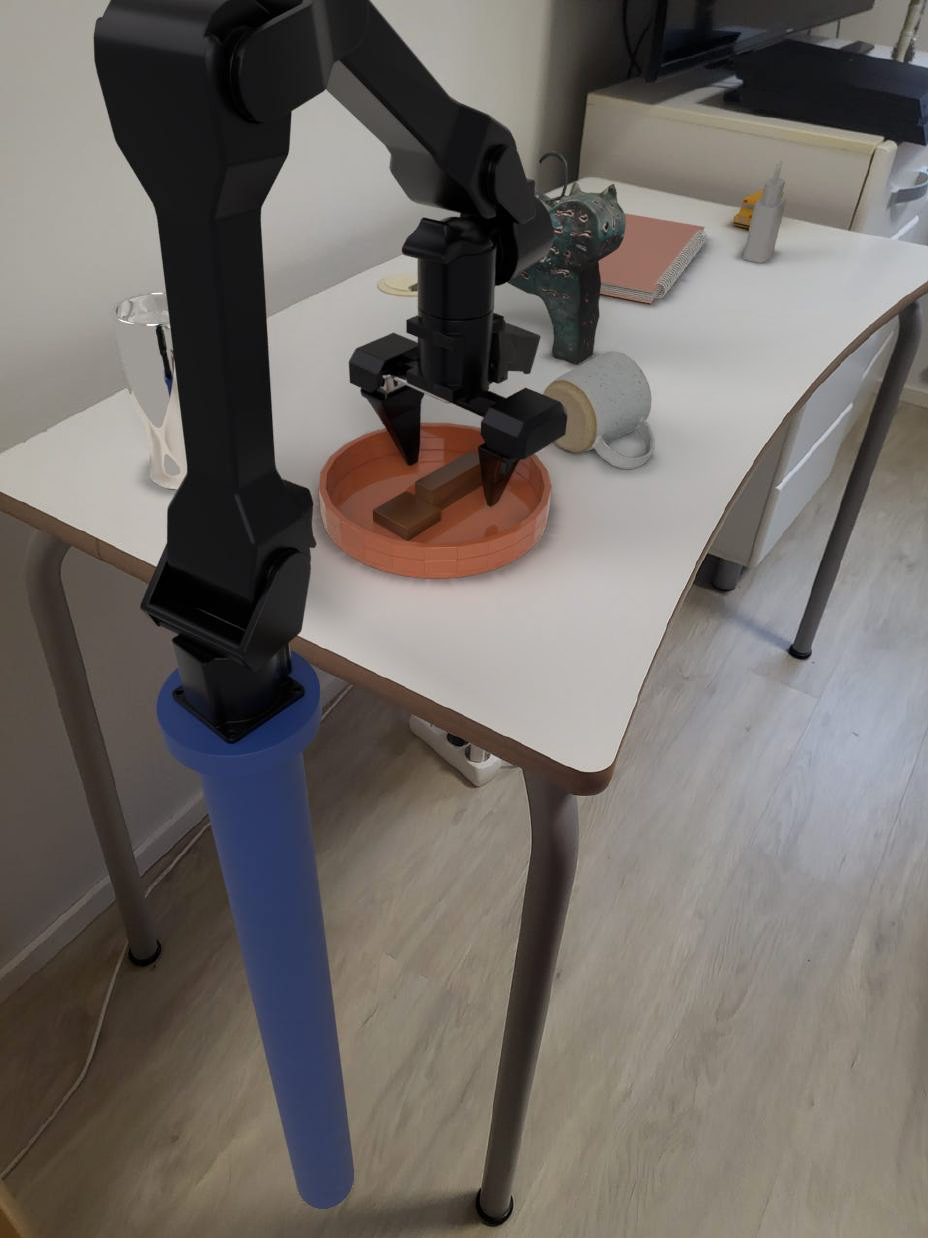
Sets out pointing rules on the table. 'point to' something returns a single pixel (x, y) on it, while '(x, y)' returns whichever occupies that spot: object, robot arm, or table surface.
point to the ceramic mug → (605, 407)
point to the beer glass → (152, 381)
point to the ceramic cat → (574, 264)
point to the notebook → (649, 258)
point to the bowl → (467, 526)
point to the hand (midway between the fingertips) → (451, 483)
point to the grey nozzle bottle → (766, 220)
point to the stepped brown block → (430, 497)
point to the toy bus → (747, 210)
